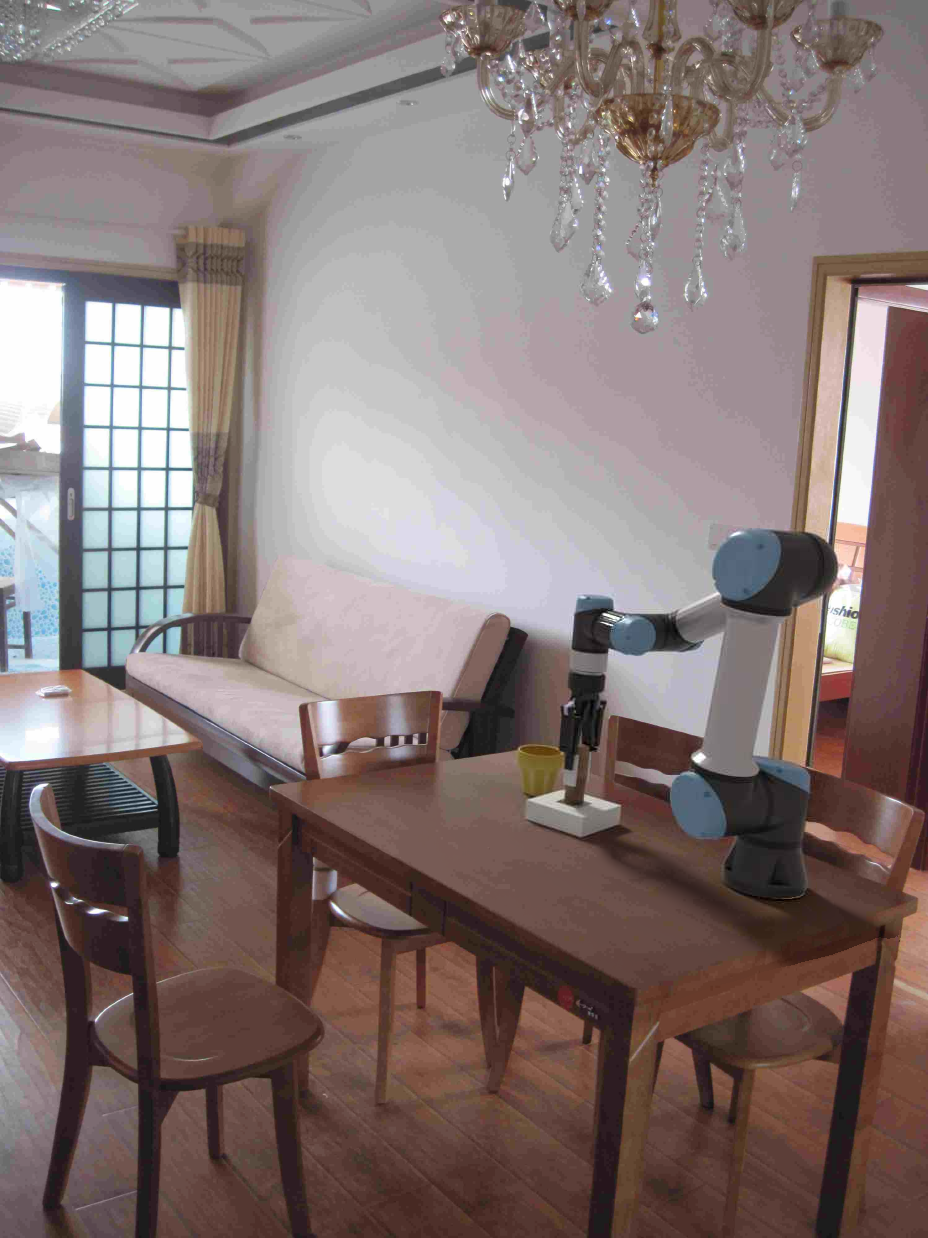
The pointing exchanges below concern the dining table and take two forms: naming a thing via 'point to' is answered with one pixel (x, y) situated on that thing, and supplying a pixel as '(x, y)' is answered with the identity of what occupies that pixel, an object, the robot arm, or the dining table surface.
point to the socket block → (572, 813)
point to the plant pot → (539, 768)
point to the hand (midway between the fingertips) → (575, 782)
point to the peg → (578, 779)
